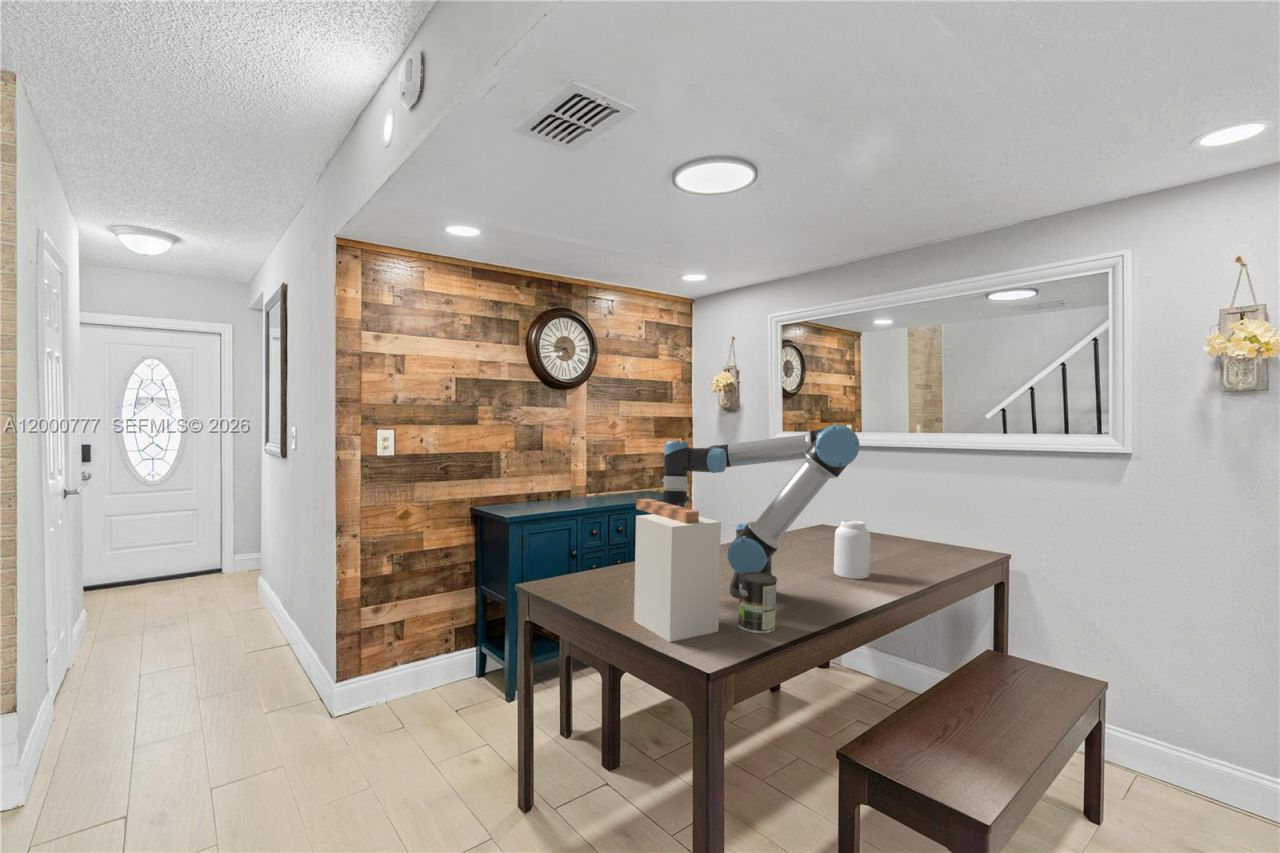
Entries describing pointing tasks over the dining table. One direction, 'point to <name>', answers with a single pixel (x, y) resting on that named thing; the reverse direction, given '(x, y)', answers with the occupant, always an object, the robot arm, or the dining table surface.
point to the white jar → (852, 550)
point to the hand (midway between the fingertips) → (673, 558)
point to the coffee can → (757, 602)
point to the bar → (668, 510)
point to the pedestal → (677, 576)
